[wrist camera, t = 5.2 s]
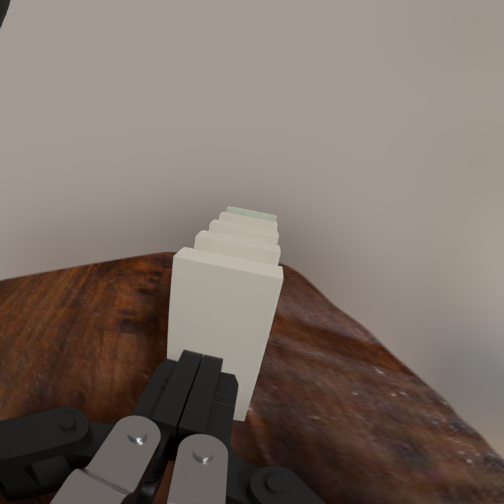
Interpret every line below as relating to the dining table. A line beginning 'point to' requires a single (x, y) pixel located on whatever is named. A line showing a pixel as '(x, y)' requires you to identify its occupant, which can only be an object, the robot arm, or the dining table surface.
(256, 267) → the domino
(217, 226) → the domino
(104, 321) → the dining table surface
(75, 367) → the dining table surface
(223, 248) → the domino
